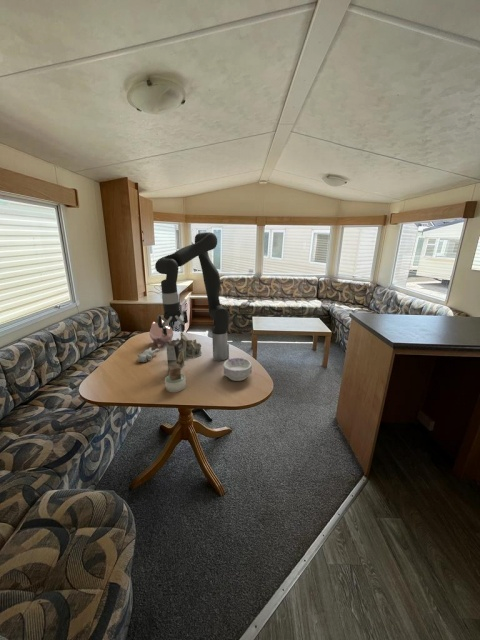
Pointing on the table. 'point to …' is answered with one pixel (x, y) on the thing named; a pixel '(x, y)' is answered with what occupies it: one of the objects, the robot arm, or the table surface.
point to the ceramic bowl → (175, 384)
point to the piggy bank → (160, 334)
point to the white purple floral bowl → (237, 368)
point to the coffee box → (175, 353)
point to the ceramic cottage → (190, 347)
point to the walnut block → (174, 372)
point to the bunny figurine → (146, 355)
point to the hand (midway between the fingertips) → (174, 333)
